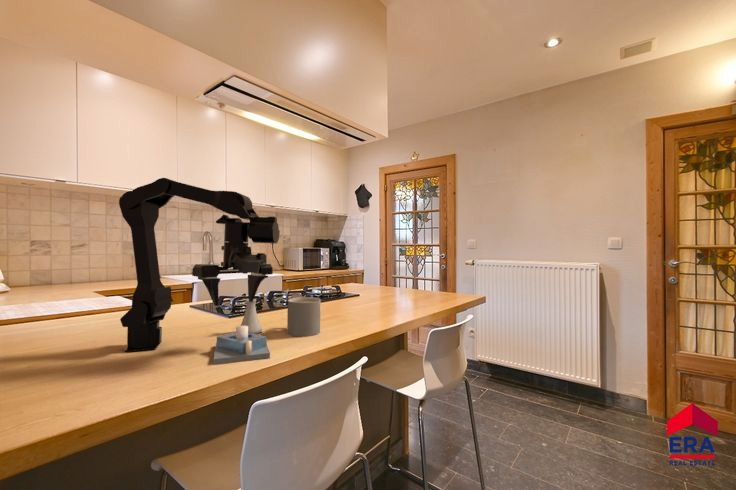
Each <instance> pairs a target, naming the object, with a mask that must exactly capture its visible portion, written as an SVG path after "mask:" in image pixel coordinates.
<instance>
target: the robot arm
mask: <svg viewBox="0 0 736 490" xmlns="http://www.w3.org/2000/svg"><path fill="white" fill-rule="evenodd" d="M174 197H179V198H181V199H182V198H183V199H186V200H190V201H194V202H198V203H202V204H207V205H209V206H211V207H212V208H213V207H214V208H215V209H217V210H219V211H222V212H223V213H226V214H222V216H220V217H219V218H218V219H216V220H215V224H219V225H224V232H223V233H224V235H223V245H221V248H220V249H221V251H223V257H222V258H223V261H220V266H219V264H212V263H195V265H193V267H192V274H191V276H192V277H197V280H199V281H202V283H203V284H204V286H205V288H206V289H207V292H208V294H209V296H210V299H211V301H212V304H213V306H214V307H218V306H219V284H220V281H221V278H219V277H218V276H219V275H224V274H225V275H227V274H245V275H247V296H248V299H249V302H253V299H255V296H256V294H257V291H258V290H259V286H260V285H261V283H262V282H263V281H264V280H265V279H267V278H268V277H269V275H273V273H274V271H273V270H274V268H273V266H272V264H271V263H267V262H268V261H267V254H266V253H264V252H257V253H256V254H253V252H252V247H251V246H249V239H250V240H251V242H253V243H254V244H273V245H274V244H278V242H279V240H280V235H281V234H280V229H279V223H278V217H276V216H266V217H265V216H264V217H263V216H259V215H258V214H257V212H256V211H255V209H254V208H253V201H252V200H251V198H250V197H249V196H246V195H244V194H242V193H241V192H237V191H232V190H211V189H207V188H203V187H200V186H199V187H198V186H195V185H191V184H187V183H182V182H178V181H176V180H174V179H170V178H166V177H161V178H158V179H156V180H154V181H153V182H150V183H147V184H144V185H141V186H139V187H136V188H134V189H133V190H130V191H126V192H124V193H123V194H122V195H121V196H120V197H119V199H118V206H119V209H120V212H121V216H122V217H123V219H124V221H125V222H126V223H127V225H128V226H129V228H130V233H131V241H132V249H133V257H134V265H135V273H136V275H135V276H136V281H137V283H136V288H135V290H134V292H133V294H132V297H131V308H130V309H129V310H128V311H126V313H125V314H124V315H122V317H120V323H121V325H122V327H123V328H127V330H126V332H127V335H126V337H127V339H126V340H127V341H126V343H127V344H126V348H125V349H124V353H129V352H140V351H141V352H142V351H151V350H157V348H158V347H159V345H161V343H162V342H163V341H162V340H163V339H162V337H163V334H162V333H163V328H162V326H160V321H163V320H164V319H165V316H166V314H167V313H168V312H169V310H171V307H172V302H174V300H173V299H174V298H173V297H172V287H171V286H166V287H165V285H164V284H163V282H162V281H161V274H160V267H159V266H160V265H159V257H158V251H157V250H158V249H157V242H156V232H155V225H156V224H157V222H158V219H159V215H160V209H161V208H163V207H164V206H166V205H167V204H168V203H169V202H170V201H171V199H172V198H174ZM227 214H229V215H231V216H235V217H230V216H229V215H227ZM236 216H237V217H236ZM243 220H248V221H249V222H246V221H243ZM248 273H249V274H248Z"/></svg>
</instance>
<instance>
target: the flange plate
mask: <svg viewBox="0 0 736 490" xmlns="http://www.w3.org/2000/svg"><path fill="white" fill-rule="evenodd" d="M267 338H268V337H267V335H266V336H265V335H261V334H258V333H257V334H253V333H249V332H248V338H247V339H243V340H236V331H235V332H230V333H226V334H221V335H219V336H218V335H217V336H216V342H217V347H218V348H221V349H225V350H228V351H231V352H235V353H238V354H242V355H243V354H246V341H252V343H251V352H253V351H256V350H259V349H262V348H265V347H267V346H268V344H267V343H268V340H267Z"/></svg>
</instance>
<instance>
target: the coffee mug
mask: <svg viewBox="0 0 736 490" xmlns="http://www.w3.org/2000/svg"><path fill="white" fill-rule="evenodd" d="M321 302H322V301H321V299H320V298H317V297H294V298H293V297H292V298H289V299H288V300H287V325H286V326H287V327H286V328H287V331H286V332H287V335H288V336H290V337H291V336H292V337H299V338H302V337H303V338H304V337H306V338H307V337H313V336H317V335H319V334H320V333H321Z"/></svg>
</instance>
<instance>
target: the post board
mask: <svg viewBox="0 0 736 490" xmlns="http://www.w3.org/2000/svg"><path fill="white" fill-rule="evenodd" d="M235 327H236V328H235V332H236V340H243V339H247V338H248V326H241V325H239V326H235ZM251 343H252V341H246V354H243V355H242V354H238V353H235V352H231V351H228V350H225V349H221V348H218V347H217V341H216V343H215V348H214V354H213V365H220V364H230V363H239V362H240V363H241V362H247V361H255V360H265V359H270V358H271V353H270V349H269V347H268V345H267V347H265V348H262V349H259V350H256V351H253V352H251Z"/></svg>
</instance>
